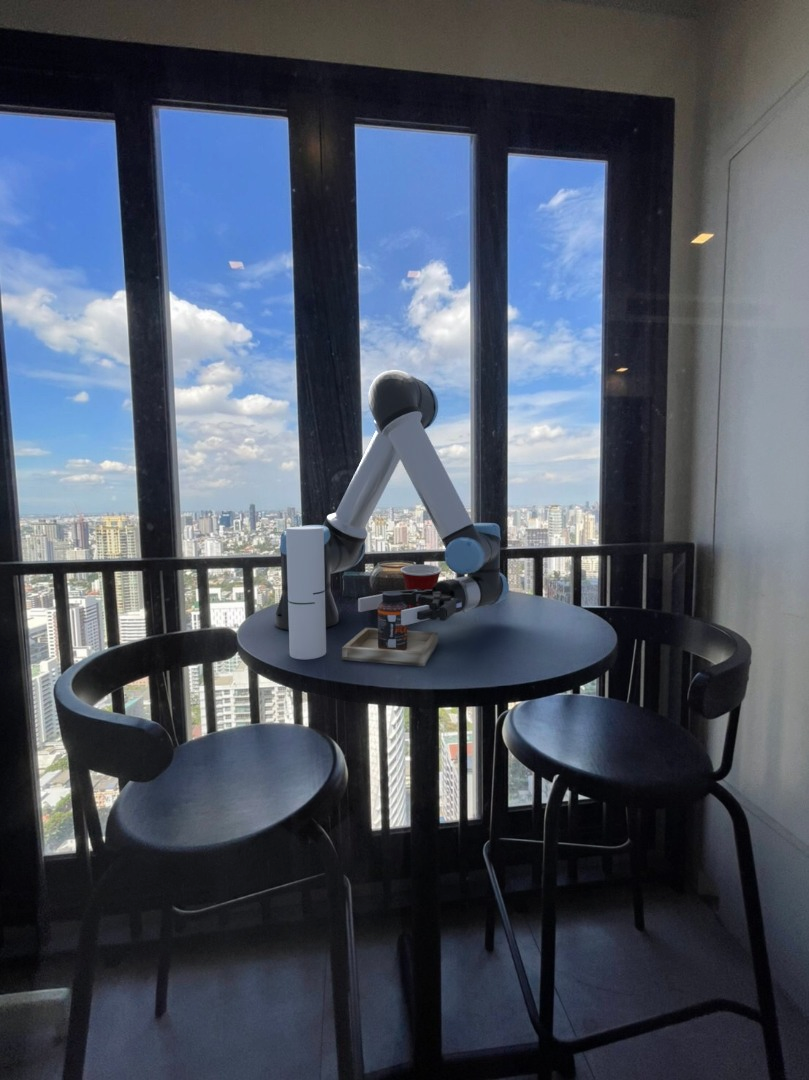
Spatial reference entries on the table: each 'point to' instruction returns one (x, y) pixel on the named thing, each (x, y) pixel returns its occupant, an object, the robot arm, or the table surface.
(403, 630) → the supplement bottle
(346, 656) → the tray
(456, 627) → the table surface
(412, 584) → the plastic cup
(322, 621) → the cylindrical container
